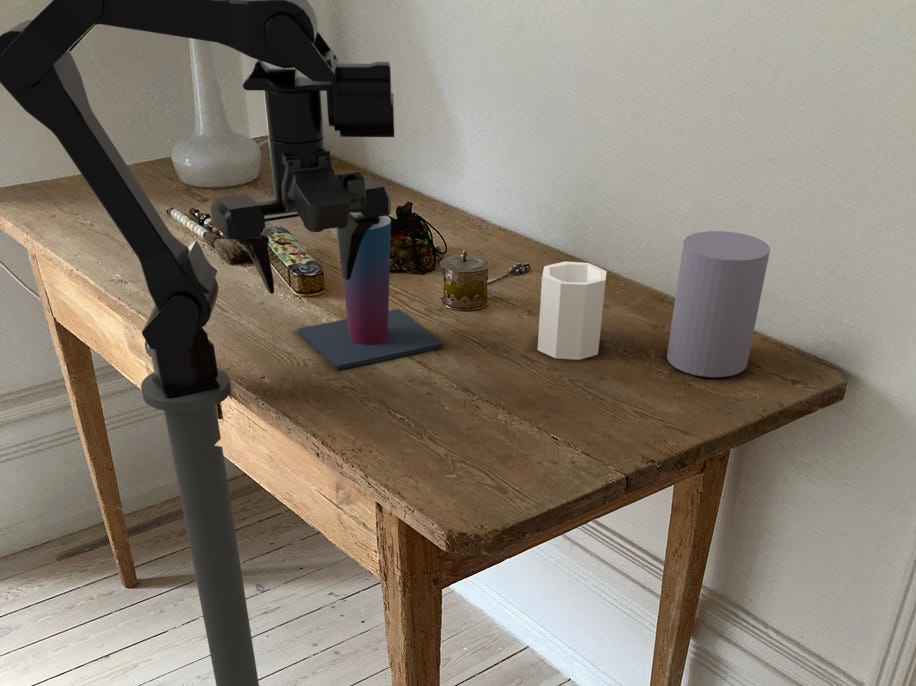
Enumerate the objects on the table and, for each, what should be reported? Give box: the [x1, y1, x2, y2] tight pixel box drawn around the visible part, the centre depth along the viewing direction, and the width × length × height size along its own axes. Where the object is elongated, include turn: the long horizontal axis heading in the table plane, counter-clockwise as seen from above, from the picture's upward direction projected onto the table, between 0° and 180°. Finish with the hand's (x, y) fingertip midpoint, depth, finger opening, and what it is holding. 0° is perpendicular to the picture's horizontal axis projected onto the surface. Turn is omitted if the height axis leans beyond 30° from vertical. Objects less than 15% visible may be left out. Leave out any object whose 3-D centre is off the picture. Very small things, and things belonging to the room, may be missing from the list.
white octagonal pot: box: [537, 261, 607, 361], centre depth 135 cm, size 12×9×10 cm
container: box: [666, 230, 771, 379], centre depth 129 cm, size 10×10×15 cm
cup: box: [335, 215, 392, 344], centre depth 131 cm, size 7×7×15 cm
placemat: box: [297, 308, 443, 371], centre depth 136 cm, size 15×13×1 cm
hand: (309, 285), depth 116 cm, fingers open, 9 cm apart
